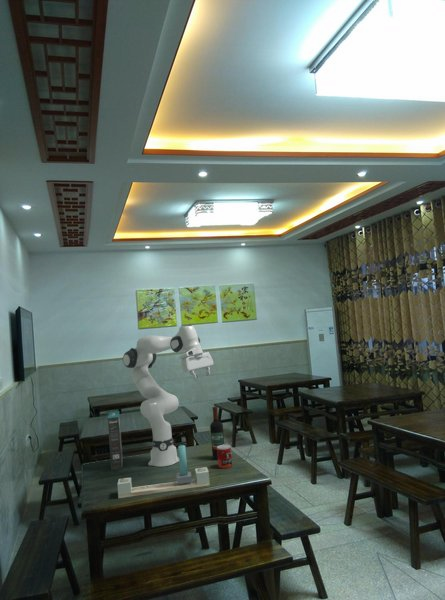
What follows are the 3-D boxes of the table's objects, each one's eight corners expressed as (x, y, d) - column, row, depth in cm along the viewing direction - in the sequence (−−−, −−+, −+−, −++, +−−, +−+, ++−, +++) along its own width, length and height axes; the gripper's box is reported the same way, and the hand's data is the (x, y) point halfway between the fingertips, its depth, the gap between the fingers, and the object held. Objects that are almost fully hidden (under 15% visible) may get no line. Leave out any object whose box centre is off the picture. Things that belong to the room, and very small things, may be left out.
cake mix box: (122, 469, 261) (118, 416, 263) (111, 470, 260) (107, 418, 262) (122, 459, 283) (119, 410, 285) (112, 460, 282) (109, 411, 283)
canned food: (222, 469, 244) (220, 449, 245) (216, 466, 251) (214, 446, 252) (234, 466, 248) (233, 446, 248) (228, 463, 255) (226, 443, 255)
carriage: (177, 479, 227) (174, 445, 228) (190, 477, 228) (188, 443, 229) (177, 484, 220) (175, 448, 221) (192, 482, 221) (189, 447, 222)
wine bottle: (227, 456, 268) (222, 405, 270) (223, 460, 261) (218, 408, 263) (215, 456, 271) (211, 405, 273) (210, 460, 264) (206, 408, 266)
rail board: (119, 492, 223) (118, 477, 223) (207, 480, 230) (206, 465, 230) (118, 498, 215) (117, 483, 216) (209, 485, 222) (208, 470, 222)
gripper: (204, 351, 257) (212, 374, 254) (177, 357, 242) (184, 382, 239) (211, 348, 253) (219, 371, 250) (184, 353, 238) (192, 378, 235)
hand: (202, 376), depth 244 cm, fingers open, 8 cm apart
